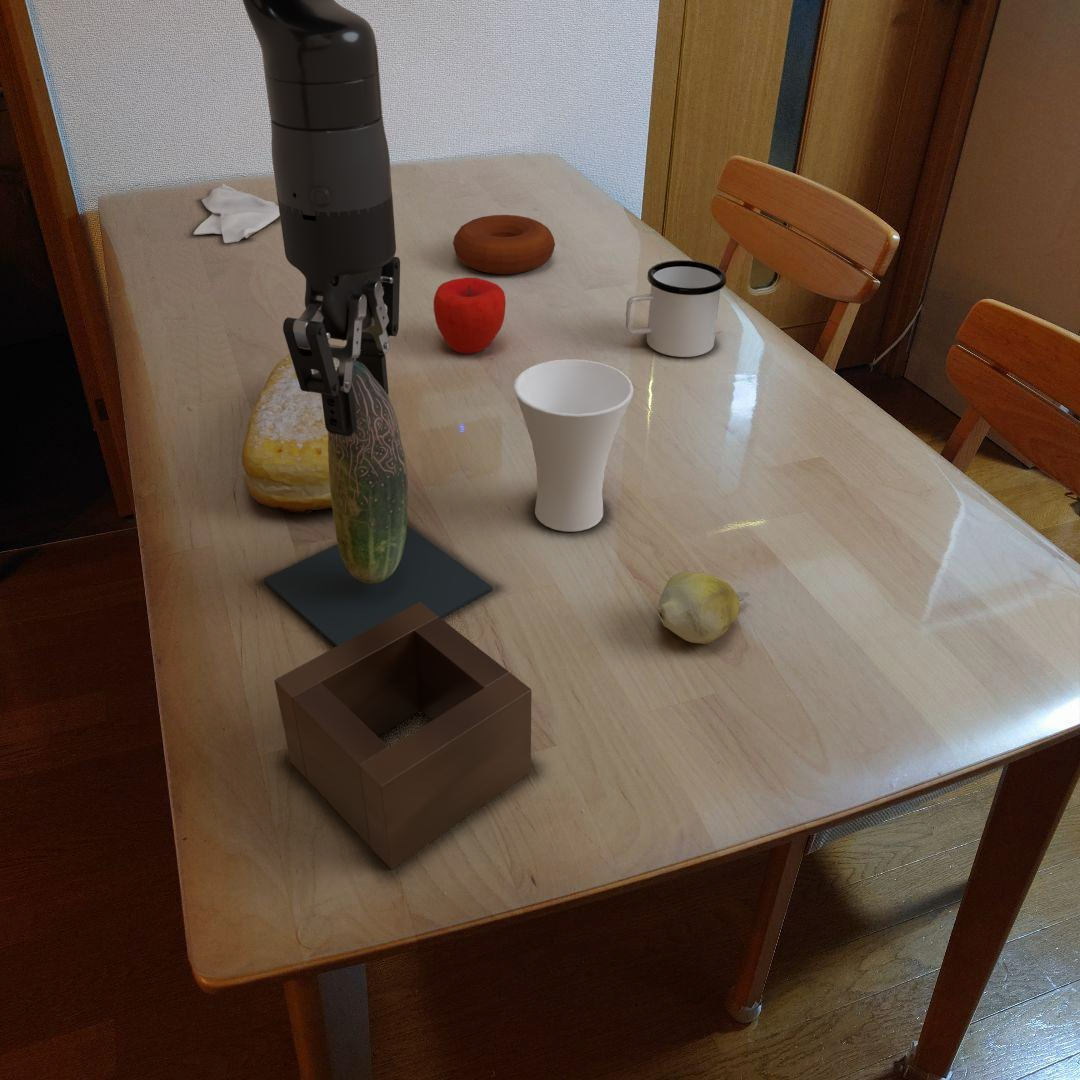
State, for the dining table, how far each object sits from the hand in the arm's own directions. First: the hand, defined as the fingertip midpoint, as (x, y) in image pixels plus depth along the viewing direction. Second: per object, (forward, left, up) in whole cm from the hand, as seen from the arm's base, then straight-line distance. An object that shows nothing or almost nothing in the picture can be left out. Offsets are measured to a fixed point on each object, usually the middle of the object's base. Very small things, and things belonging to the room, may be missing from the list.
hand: (358, 413), depth 77 cm
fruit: (+17, -22, -17) cm, 33 cm away
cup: (+20, -3, -17) cm, 27 cm away
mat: (0, 0, -17) cm, 17 cm away
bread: (+9, +22, -17) cm, 29 cm away
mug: (+55, +15, -17) cm, 60 cm away
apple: (+36, +31, -17) cm, 51 cm away
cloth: (+39, +93, -17) cm, 102 cm away
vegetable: (0, 0, -16) cm, 16 cm away
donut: (+58, +50, -17) cm, 79 cm away
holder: (-10, -18, -17) cm, 27 cm away
